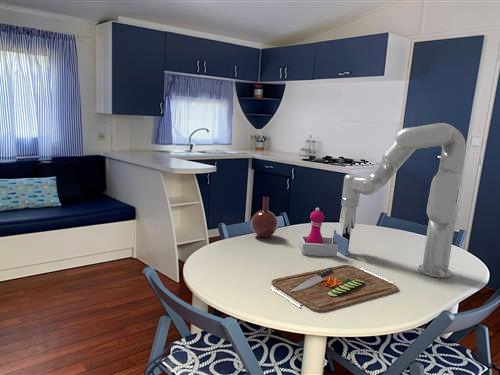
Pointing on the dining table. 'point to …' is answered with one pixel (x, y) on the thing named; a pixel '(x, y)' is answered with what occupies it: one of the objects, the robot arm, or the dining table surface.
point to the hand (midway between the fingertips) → (345, 241)
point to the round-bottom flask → (264, 221)
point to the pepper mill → (316, 227)
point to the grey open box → (318, 247)
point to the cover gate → (341, 243)
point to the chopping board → (333, 287)
